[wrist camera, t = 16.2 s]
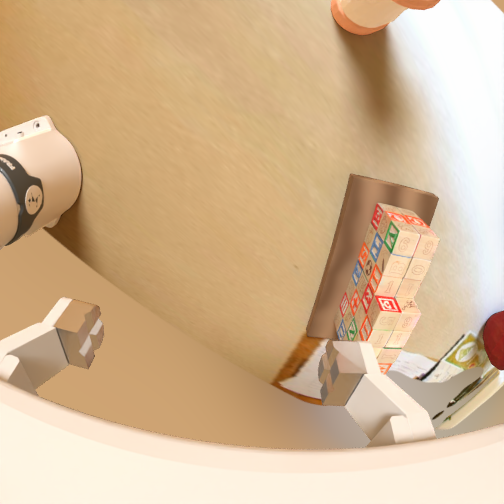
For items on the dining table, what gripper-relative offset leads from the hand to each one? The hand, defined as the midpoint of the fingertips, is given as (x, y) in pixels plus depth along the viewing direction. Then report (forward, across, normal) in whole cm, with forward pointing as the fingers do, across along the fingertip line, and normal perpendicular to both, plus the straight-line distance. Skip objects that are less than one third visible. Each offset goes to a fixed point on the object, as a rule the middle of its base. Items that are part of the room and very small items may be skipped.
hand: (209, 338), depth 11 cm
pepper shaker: (+34, -11, -22) cm, 42 cm away
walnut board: (+34, -21, +15) cm, 43 cm away
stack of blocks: (+32, -21, +14) cm, 41 cm away
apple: (+34, -58, +24) cm, 71 cm away
